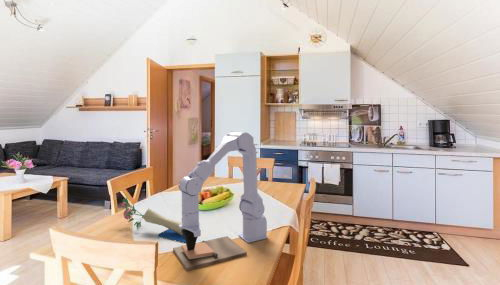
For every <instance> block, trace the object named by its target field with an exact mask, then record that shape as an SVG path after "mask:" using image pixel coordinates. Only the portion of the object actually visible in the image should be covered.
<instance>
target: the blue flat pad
mask: <svg viewBox="0 0 500 285" xmlns="http://www.w3.org/2000/svg"><path fill="white" fill-rule="evenodd" d="M158 237H160V238H162V237H163V239H166V238H167V240H170V239H171V240H170V241H174V240H176V241H175V242H178V241H180V242H179V243H182V242H184V243H183V244H186V241H185V238H184V235H182V236H181V235H179V234H177V233H176V232H174V231H172V230H170V229H168V228H167V229H165V230H163V231H161V232H159V233H158Z"/></svg>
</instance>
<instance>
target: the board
mask: <svg viewBox="0 0 500 285" xmlns="http://www.w3.org/2000/svg"><path fill="white" fill-rule="evenodd" d="M203 242H205V243H206V244H207V245H208V246H209V247H210V248H211V249H212V250H213V251H214V253H213V255H212V256H206V257H200V258H193V259H189V258H188V257H187V255H186V254H185V253H184V251H183V250H182V249H181V245H180V246H177V247H172V252H173V253H174V254H175V256H176V258H177V259H178V261H179V262H180V264H182V267H183V268H184V269H185V271H186V272H189V271H191V270H197V269H199V268H203V267H206V266H210V265H214V264H217V263H221V262H225V261H228V260H229V261H230V260H233V259H236V258H240V257H244V256H247V255H248V254H247V253H248V252H247V251H246V250H245V249H243V248H242V246H240V245H239V244H238V243H236V242H235V241H234V240H232V239H231V237H229V236H227V235H226V236H222V237H218V238H213V239H209V240H202V241H200V242H199V241H198V243H203Z"/></svg>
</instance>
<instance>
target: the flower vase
mask: <svg viewBox="0 0 500 285" xmlns="http://www.w3.org/2000/svg"><path fill="white" fill-rule="evenodd" d="M129 207H130V208H129ZM121 208H125V209H124V211H123V218H124V219H125V220H127V221H128V223H130V222H132V221H134V220H135V218H134V217H132V216H134V215H135V216H141V218H139V221H136V222H134V226H136V229H139V226H141V225H142V222H141V221H142V220H144V221H145V222H146V223H150V224H154V225H158V226H162V227H165V228H167V230H168V229H170V230H172V231H174V232H176V233H177V234H179V235H181V236H182V235H183V233H182V231H181V230H182V229H184V228H181V229H180V228H179V225H181V224H182V222H180V221H177V220H173V219H170V218H167V217H165V216H164V215H161V214H160V213H158V212H156V211H154V210H152V209H151V208H149V207H148V208H147V209H146V211H145V213H144V214H142V213H141V212H139V211H138V210H137V209H135V204H134V203H133V205H131V204H130V202H129V200H128V198H127V196H125V198H124V199H122V203H121ZM138 213H139V214H138Z"/></svg>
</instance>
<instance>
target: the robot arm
mask: <svg viewBox="0 0 500 285" xmlns="http://www.w3.org/2000/svg"><path fill="white" fill-rule="evenodd" d="M234 151H235V152H236V151H237V152H238V153H239V154H241V155H242V172H243V175H242V176H243V194H241V195H240V200H239V204H238V208H239V209H238V210H239V211H240V212H241V216H242V233H240V234H238V237H239V238H241V239H242V240H243V241H245V242H246V243H253V242H256V241H261V240H264V239H268V236H267V233H268V232H267V230H268V226H267V225H268V222H267V218H266V216H265V215H264V213H265V210H266V209H265V205H264V203H263V197H262V196H261V195H260V194H259V192H258V162H257V160H258V158H257V157H258V156H257V148H256V146H255V143H254V137H253V135H251V134H250V133H248V132H237V131H229V132H228V133H227V134H226V135H225V136H224V137H223V138H222V140H221V143H220V144H219V145H218V146H217V147H216V148H215V150H214V151H213V152H212V153H211V154H210V155H209V156H208V158H207V159H203V160H201V161H198V162H197V163H196V164H197V165H196V166H195V167H194V169H192V171H191V172H188V174H187V176H184V177H181V179H180V182H179V184H177V186H178V189H179V190H180V192H181V223H182V224H181V225H179V228H180V229H181V228H184V229H182V230H181V231H182V233H183V235H184V238H185V241H186V243H185V245H186V246H187V249H188V250H189V251H190V250H194V248H195V244H196V243H197V239H198V237H200V236H202V235H201V234H202V232H201V227H200V225H201V224H200V210H199V209H200V208H199V206H200V205H199V204H200V198H199V195H200V194H199V193H201V192H202V189H203V185H204V184H205V182H206V181H207V180H208V178H210V177H211V175H212V174H213V173H214V172H215V166H216V165H217V164H218V163H220V161H221V160H222V159H223V158H224V157H225V156H227V154H228V153H229V152H230V153H231V152H234Z"/></svg>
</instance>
